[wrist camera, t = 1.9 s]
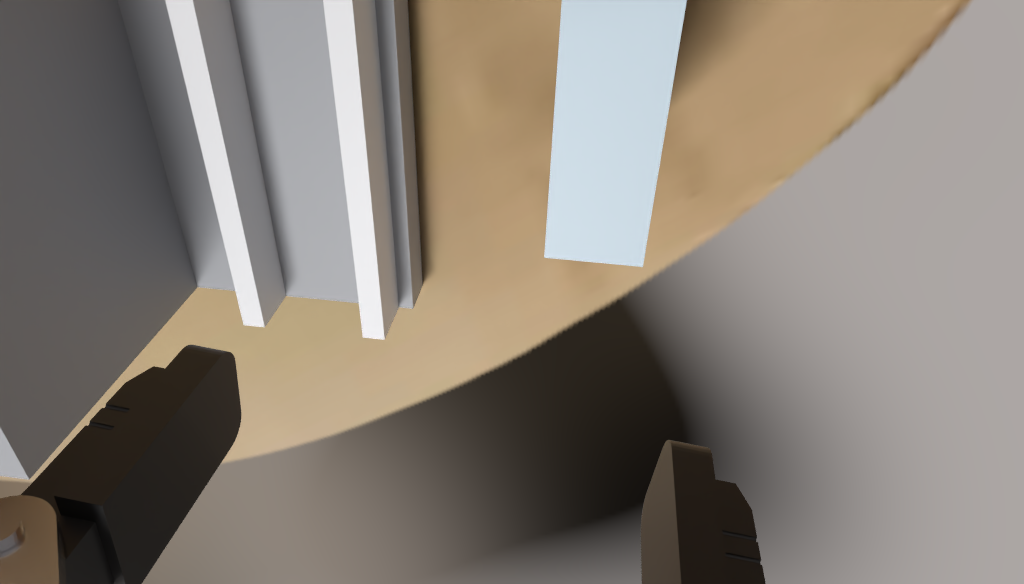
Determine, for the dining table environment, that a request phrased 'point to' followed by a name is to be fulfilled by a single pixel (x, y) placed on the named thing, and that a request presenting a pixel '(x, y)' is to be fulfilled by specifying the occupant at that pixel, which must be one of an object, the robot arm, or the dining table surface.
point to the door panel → (609, 126)
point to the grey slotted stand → (190, 181)
